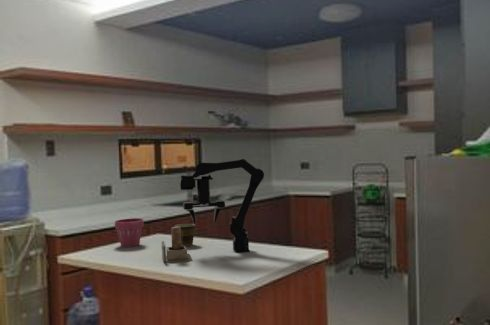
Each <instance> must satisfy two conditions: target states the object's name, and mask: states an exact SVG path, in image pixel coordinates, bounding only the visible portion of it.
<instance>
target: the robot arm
mask: <svg viewBox="0 0 490 325" xmlns="http://www.w3.org/2000/svg"><path fill="white" fill-rule="evenodd" d="M240 168H241V169H243V170H244V171H246V172H247V173H248V174H249V175H250V179H249V184H248V187H247V190H246V192H245V194H244V197H243V200H242V203H241V205H240V207H239V210H238V212H237V215H236V216H235V215H232V218H231V222H230V223H229V231H230V234H232V235H233V240H232V250H233V251H234V252H235V253H244V252H250V251H251V250H250V247H249V246H250V245H249V243H250V242H249V236H248V230H246V228H245V227H244V224H245V219H246V216H247V212H248V211H249V208H250V205H251V203H252V201H253V197H254V196H255V193H256V190H257V189H258V187H259V186H260V184H261V182H262V181H263V180H264V177H265V172H264V171H263V170H262V169H261V168H259V167H257V168H256V167H255V166H254V165H253V164H251V163H249V161H247V159H245V158H242V159H237V160H228V161H222V162H207V161H206V162H204V161H202V162H200V163H198V164H196V167H195V171H194V173H193V174H192V175H181V176H180V184H179V185H180V191H194V189H197V194H192V201H184V202H183V203H182V209H184V210H186V212H189V214H190V218H191V219H192V222H193V224H195V225H196V216H195V210H194V208H205V207H206V208H207V207H208V208H210V207H213V208H214V210H213V212H214V213H213V224H216V221H217V219H218V216H219V214H220V212H221V210H223V208H226V201H224V200H214V201H213V202H211V190H210V186H211V185H210V180H211V181H212V180H214V177H213V176H212V175H211V174H212V173H214V172H218V171H225V170H232V169H233V170H234V169H240ZM200 176H201V178H199V177H200Z"/></svg>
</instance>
